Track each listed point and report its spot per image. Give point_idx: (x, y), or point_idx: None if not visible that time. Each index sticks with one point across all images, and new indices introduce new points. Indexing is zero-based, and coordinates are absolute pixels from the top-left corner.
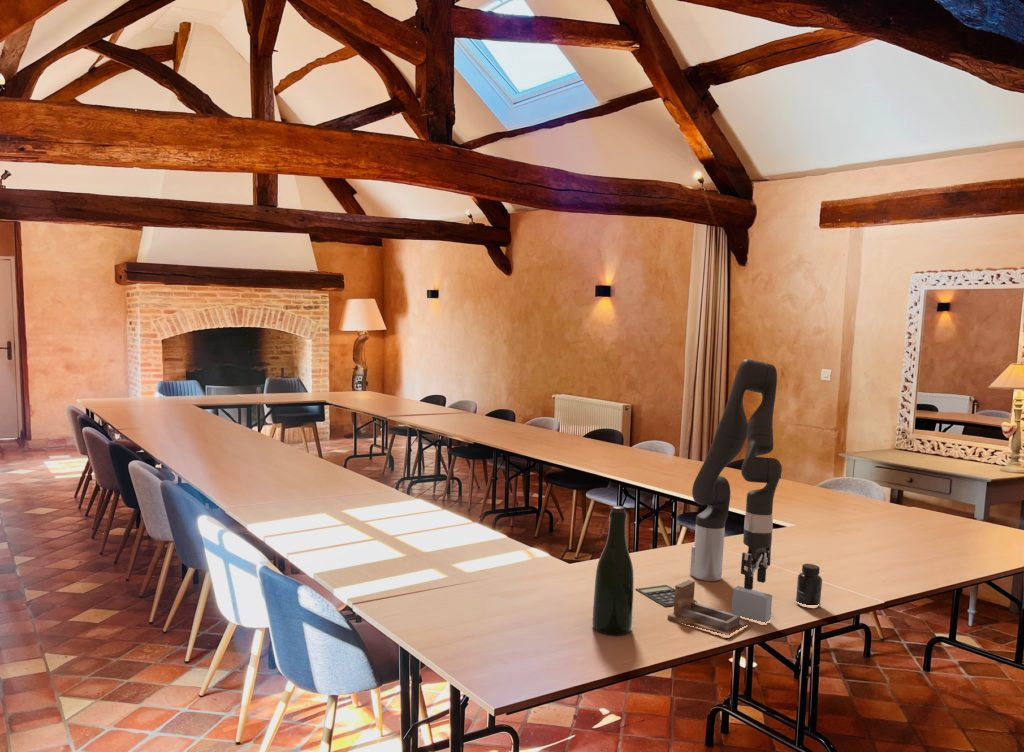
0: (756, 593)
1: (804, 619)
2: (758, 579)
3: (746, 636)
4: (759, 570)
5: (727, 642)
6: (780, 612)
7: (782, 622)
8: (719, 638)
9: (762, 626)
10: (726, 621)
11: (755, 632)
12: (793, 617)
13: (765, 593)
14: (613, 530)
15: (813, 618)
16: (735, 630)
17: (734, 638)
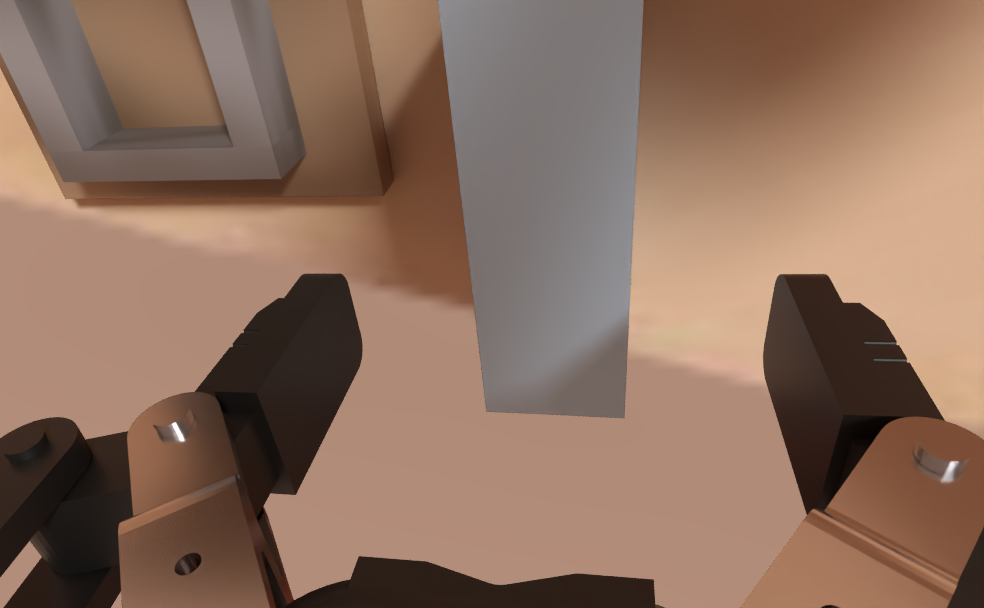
0: (532, 295)
1: None
2: (780, 306)
3: (247, 243)
4: (825, 423)
5: (55, 203)
6: (954, 222)
7: (705, 310)
8: None
9: None
10: (84, 156)
11: (360, 255)
12: None
13: (623, 357)
14: None
15: (964, 423)
16: (170, 197)
17: (144, 205)
